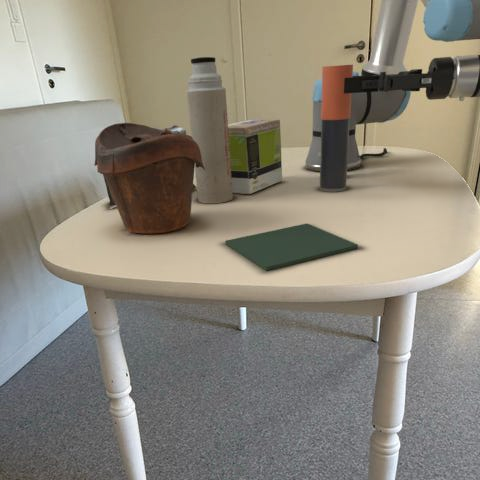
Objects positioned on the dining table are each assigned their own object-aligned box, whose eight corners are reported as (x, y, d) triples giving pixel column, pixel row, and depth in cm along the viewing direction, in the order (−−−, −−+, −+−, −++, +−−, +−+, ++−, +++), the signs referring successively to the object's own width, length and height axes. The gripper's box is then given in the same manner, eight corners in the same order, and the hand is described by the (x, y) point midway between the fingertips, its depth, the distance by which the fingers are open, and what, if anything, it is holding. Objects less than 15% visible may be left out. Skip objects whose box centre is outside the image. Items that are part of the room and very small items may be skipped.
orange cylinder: (338, 116, 100) (340, 65, 95) (356, 117, 95) (359, 64, 90) (315, 119, 98) (316, 67, 93) (332, 120, 93) (334, 65, 88)
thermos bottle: (236, 194, 104) (227, 56, 91) (228, 203, 98) (217, 55, 84) (203, 195, 106) (190, 59, 93) (193, 203, 99) (177, 58, 86)
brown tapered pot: (197, 239, 77) (185, 127, 68) (90, 239, 80) (65, 132, 72) (219, 211, 92) (211, 116, 83) (128, 212, 96) (112, 122, 87)
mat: (307, 226, 79) (307, 223, 79) (357, 248, 68) (358, 244, 68) (225, 244, 74) (225, 240, 73) (266, 271, 63) (266, 267, 62)
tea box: (250, 179, 119) (247, 118, 112) (283, 182, 113) (282, 118, 106) (215, 191, 108) (210, 126, 101) (250, 195, 103) (246, 126, 96)
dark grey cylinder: (335, 184, 107) (338, 116, 100) (352, 189, 102) (356, 117, 95) (314, 188, 105) (315, 119, 98) (329, 193, 100) (332, 120, 93)
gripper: (464, 102, 81) (344, 108, 84) (433, 95, 102) (339, 101, 106) (471, 54, 77) (346, 63, 81) (438, 58, 99) (340, 64, 102)
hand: (342, 84), depth 93 cm, fingers open, 13 cm apart
